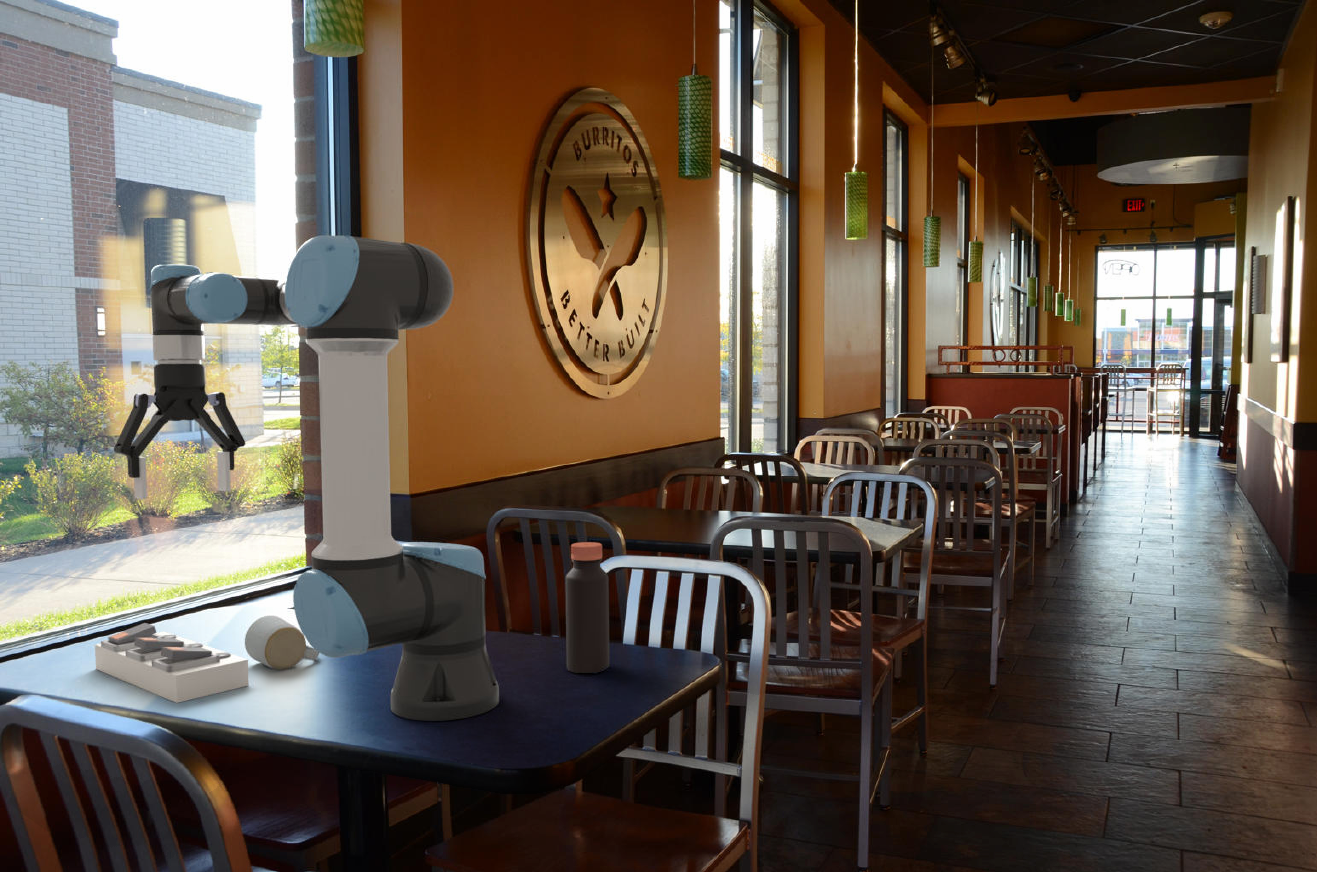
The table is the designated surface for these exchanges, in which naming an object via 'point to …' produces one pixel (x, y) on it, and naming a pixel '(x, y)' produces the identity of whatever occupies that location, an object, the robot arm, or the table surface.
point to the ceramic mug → (277, 643)
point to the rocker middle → (157, 643)
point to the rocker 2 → (185, 652)
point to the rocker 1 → (132, 634)
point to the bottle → (587, 610)
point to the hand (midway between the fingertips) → (183, 494)
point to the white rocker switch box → (172, 669)
